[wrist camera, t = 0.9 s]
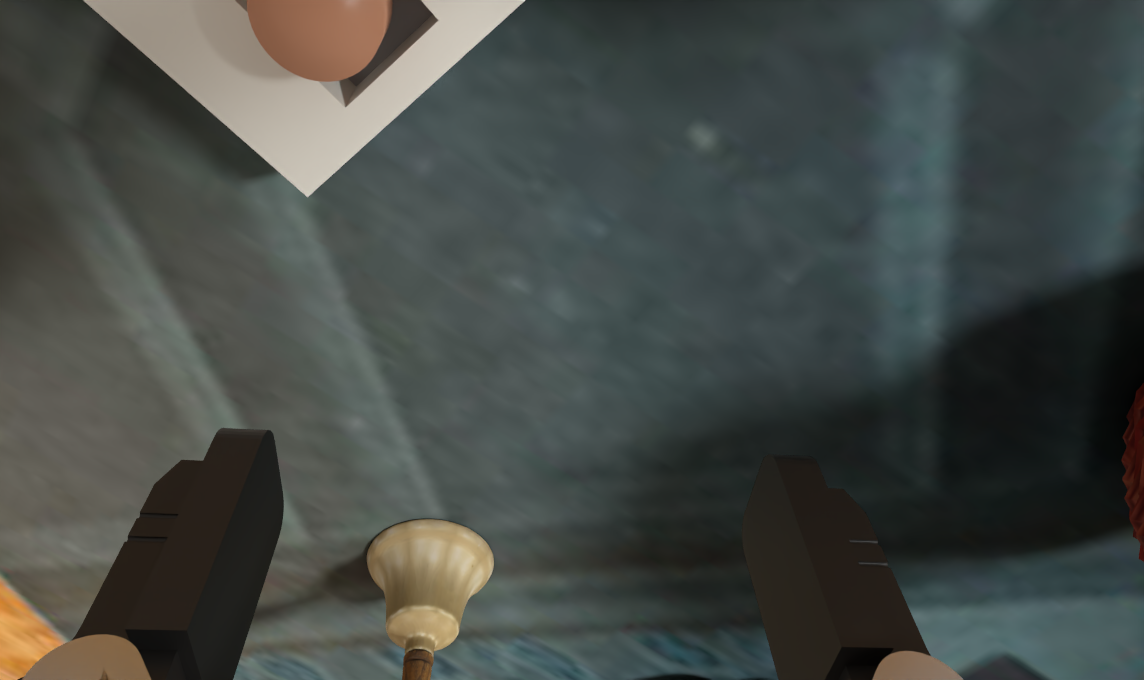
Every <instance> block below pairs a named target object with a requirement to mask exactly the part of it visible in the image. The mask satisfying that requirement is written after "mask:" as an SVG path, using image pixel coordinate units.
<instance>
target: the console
mask: <svg viewBox="0 0 1144 680" xmlns="http://www.w3.org/2000/svg"><path fill="white" fill-rule="evenodd" d="M83 1H84V2H86V3H87V4H88V5H89V6H90V7H91V8H92V9H94V10H95V11H96V12H97V13H98V14H99V15H100V16H102V17H103V18H104V19H105V20H106V21H107V22H108V23H110V24H111V25H112V26H113V27H114V28H115V29H116V30H118V31H119V32H120V33H121V34H122V35H123V36H124V37H126V38H127V39H128V40H129V41H130V42H131V43H132V44H133V45H135V46H136V47H137V48H138V49H139V50H140V51H141V52H143V53H144V54H145V55H146V56H147V57H148V58H149V59H151V60H152V61H153V62H154V63H155V64H156V65H157V66H159V67H160V68H161V69H162V70H163V71H164V72H165V73H167V74H168V75H169V76H170V77H171V78H172V79H173V80H175V81H176V82H177V83H178V84H179V85H180V86H181V87H183V88H184V89H185V90H186V91H187V92H188V93H189V94H191V95H192V96H193V97H194V98H195V99H196V100H197V101H199V102H200V103H201V104H202V105H203V106H204V107H205V108H207V109H208V110H209V111H210V112H211V113H212V114H213V115H214V116H216V117H217V118H218V119H219V120H220V121H221V122H222V123H224V124H225V125H226V126H227V127H228V128H229V129H230V130H232V131H233V132H234V133H235V134H236V135H237V136H238V137H240V138H241V139H242V140H243V141H244V142H245V143H246V144H248V145H249V146H250V147H251V148H252V149H253V150H254V151H256V152H257V153H258V154H259V155H260V156H261V157H262V158H264V159H265V160H266V161H267V162H268V163H269V164H270V165H272V166H273V167H274V168H275V169H276V170H277V171H278V172H280V173H281V174H282V175H283V176H284V177H285V178H286V179H287V180H289V181H290V182H291V183H292V184H293V185H294V186H295V187H297V188H298V189H299V190H300V191H301V192H302V193H303V194H305V195H306V196H307V197H308V196H309V195H310V194H312V193H313V192H314V191H315V190H316V189H317V188H318V187H319V186H320V185H322V184H323V183H324V182H325V181H326V180H327V179H328V178H329V177H330V176H331V175H333V174H334V173H335V172H336V171H337V170H338V169H339V168H340V167H341V166H343V165H344V164H345V163H346V162H347V161H348V160H349V159H350V158H351V157H353V156H354V155H355V154H356V153H357V152H358V151H359V150H360V149H361V148H362V147H364V146H365V145H366V144H367V143H368V142H369V141H370V140H371V139H372V138H374V137H375V136H376V135H377V134H378V133H379V132H380V131H381V130H382V129H383V128H385V127H386V126H387V125H388V124H389V123H390V122H391V121H392V120H393V119H395V118H396V117H397V116H398V115H399V114H400V113H401V112H402V111H403V110H405V109H406V108H407V107H408V106H409V105H410V104H411V103H412V102H413V101H414V100H416V99H417V98H418V97H419V96H420V95H421V94H422V93H423V92H424V91H426V90H427V89H428V88H429V87H430V86H431V85H432V84H433V83H434V82H435V81H437V80H438V79H439V78H440V77H441V76H442V75H443V74H444V73H445V72H447V71H448V70H449V69H450V68H451V67H452V66H453V65H454V64H455V63H457V62H458V61H459V60H460V59H461V58H462V57H463V56H464V55H465V54H466V53H468V52H469V51H470V50H471V49H472V48H473V47H474V46H475V45H476V44H478V43H479V42H480V41H481V40H482V39H483V38H484V37H485V36H486V35H487V34H489V33H490V32H491V31H492V30H493V29H494V28H495V27H496V26H497V25H499V24H500V23H501V22H502V21H503V20H504V19H505V18H506V17H507V16H508V15H510V14H511V13H512V12H513V11H514V10H515V9H516V8H517V7H518V6H520V5H521V4H522V3H523V2H524V1H525V0H392V2H393V5H392V16H391V21H390V24H389V27H388V29H387V31H386V34H385V36H384V38H383V40H382V42H381V44H380V46H379V48H378V50H377V52H376V54H375V55H374V57H373V58H372V60H371V61H370V62H369V63H368V65H367V66H366V67H365V68H363V69H362V70H361V71H360V72H358V73H357V74H355V75H353V76H351V77H349V78H346V79H343V80H339V81H332V82H320V81H313V80H309V79H305V78H302V77H300V76H297V75H295V74H293V73H291V72H290V71H288V70H286V69H285V68H283V67H282V66H280V65H279V64H278V63H277V62H276V61H275V60H273V59H272V58H271V57H270V55H269V54H268V53H267V52H266V51H265V50H264V48H263V47H262V46H261V44H260V43H259V41H258V39H257V38H256V36H255V34H254V31H253V29H252V27H251V23H250V20H249V16H248V11H247V0H83Z"/></svg>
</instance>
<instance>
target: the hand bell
mask: <svg viewBox="0 0 1144 680" xmlns="http://www.w3.org/2000/svg"><path fill="white" fill-rule="evenodd" d="M367 565H368V569H369V572H370V574H371V576H372V578H373V580H374V581H375V583H376V584H377V585H378V586H379V587H380V588H381V589H382V590H383V591H384V594H385V600H386V631H387V634H388V636H389V637H390V639H391V640H392V641H393V642H394V643H396V644H397V645H398V646H400V647H402V648H405V656H404V662H403V665H404V667H403V676H402V680H430V677H431V671H432V670H431V667H432V665H433V655H434V651H436V650H439V649H442V648H444V647H446V646H448V645H449V644H451V643H452V642H453V641H454V640H455V638H456V637H457V635H458V633H459V628H460V623H461V619H462V615H463V611H464V608H465V606H466V603H467V601H468V599H469V598H470V597H471V596H472V595H474V594H475V593H477V592H478V591H479V590H480V589H481V588H482V587H483V586H484V585H485V584H486V582H487V581H488V579H489V578H490V576H491V574H492V571H493V566H494V559H493V554H492V551H491V549H490V548H489V546H488V544H487V543H486V542H485V540H483V539H482V538H481V536H479V535H478V534H477V533H475V532H474V531H472V530H470V529H469V528H467V527H464V526H462V525H459V524H456V523H453V522H449V521H444V520H436V519H418V520H411V521H407V522H403V523H399V524H397V525H394V526H392V527H390V528H388V529H386V530H384V531H383V532H381V534H379V535H378V536H377V537H376V538H375V539H374V541H373V542H372V543H371V545H370V547H369V550H368V553H367Z"/></svg>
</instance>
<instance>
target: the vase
mask: <svg viewBox="0 0 1144 680" xmlns="http://www.w3.org/2000/svg"><path fill="white" fill-rule="evenodd" d="M1126 417H1127V419H1128V421H1129V423H1130V424H1129V426H1128V428H1127V430H1126V431H1125V433H1124V435H1123V439H1124V441H1125V443H1126V445H1127V448H1126V450H1125V452H1124V455H1123V457H1122V459H1121V461H1122V463H1123V465H1124V467H1125V469H1126V473H1125V475H1124V477H1123V478H1122V480H1123V482H1124V484H1125V486H1126V488H1127V490H1128V491H1127V493H1126V496H1125V500H1126V502H1127V504H1128V506H1129V508H1130V512H1129V517H1130V518H1129V520H1130V522H1131V524H1132V525H1133V527H1134V531H1133V537H1135V538H1136V539H1138V540H1139V542H1140V544H1141V545H1140V552H1139V559H1140V560H1142V561H1144V383H1143V385H1142V386H1141V387H1140V388H1139V389H1138V390H1137V391H1136V396H1135V400H1134V402H1133V404H1132V406H1131V408H1130V410H1129V412H1128V414H1127V416H1126Z"/></svg>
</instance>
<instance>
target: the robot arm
mask: <svg viewBox="0 0 1144 680" xmlns="http://www.w3.org/2000/svg"><path fill="white" fill-rule="evenodd" d="M283 508H284V500H283V491H282V484H281V478H280V472H279V465H278V459H277V453H276V446H275V440H274V436H273V433H272V432H271V431H270V430H253V429H231V428H221V429H220V430H218V432H217V433H216V435H215V437H214V439H213V441H212V443H211V445H210V447H209V450H208V452H207V454H206V456H205V458H204V460H203V461H194V460H181V461H180V462H179V463H178V464H176V465H175V466H174V467H173V468H172V469H171V470H170V471H169V472H168V473H166V474H165V475H164V476H163V477H162V478H161V479H160V480H159V481H158V482H156V483H155V484H154V486H153V488H152V490H151V492H150V494H149V496H148V498H147V500H146V502H145V504H144V506H143V508H142V509H141V511H140V517H139V518H137V519H136V521H135V523H134V525H133V527H132V529H131V531H130V533H129V535H128V540H127V542H124V544H123V546H122V548H121V550H120V552H119V554H118V556H117V558H116V560H115V562H114V564H113V566H112V567H111V569H110V571H109V573H108V575H107V577H106V579H105V581H104V583H103V585H102V587H101V589H100V591H99V593H98V595H97V596H96V598H95V600H94V602H93V604H92V606H91V608H90V610H89V612H88V614H87V616H86V618H85V620H84V622H83V624H82V625H81V627H80V629H79V631H78V632H77V634H76V636H75V637H74V638H73V639H72V641H70V642H67V643H65V644H63V645H61V646H59V647H57V648H55V649H54V650H52V651H51V652H49V653H48V654H46V655H45V656H44V657H42V658H41V659H40V660H39V661H38V662H37V663H35V665H34V666H33V667H32V668H31V669H30V670H29V671H28V672H27V674H26V675H25V676H24V677H22V678H20V679H18V680H233V678H234V675H235V672H236V669H237V665H238V662H239V659H240V656H241V653H242V650H243V647H244V644H245V641H246V637H247V634H248V631H249V628H250V625H251V622H252V619H253V616H254V613H255V609H256V606H257V603H258V600H259V597H260V594H261V591H262V588H263V585H264V582H265V578H266V575H267V572H268V569H269V566H270V563H271V560H272V557H273V554H274V550H275V547H276V544H277V541H278V538H279V535H280V531H281V526H282V520H283ZM742 544H743V550H744V555H745V558H746V562H747V566H748V569H749V573H750V577H751V580H752V584H753V588H754V591H755V595H756V598H757V602H758V606H759V609H760V613H761V617H762V620H763V624H764V628H765V631H766V635H767V639H768V642H769V646H770V650H771V653H772V657H773V661H774V664H775V668H776V672H777V675H778V679H779V680H963V679H962V678H961V677H960V676H959V675H958V674H957V673H956V672H955V671H954V670H952V669H951V668H950V667H949V666H947V665H946V664H944V663H943V662H941V661H940V660H938V659H935V658H933V657H931V656H930V654H929V652H928V650H927V648H926V646H925V644H924V641H923V639H922V637H921V635H920V633H919V630H918V628H917V626H916V624H915V621H914V619H913V617H912V615H911V613H910V610H909V608H908V606H907V604H906V601H905V599H904V597H903V595H902V593H901V590H900V588H899V586H898V584H897V581H896V579H895V577H894V575H893V573H892V570H891V568H888V565H887V564H888V561H887V559H886V557H885V555H884V553H883V550H882V548H881V546H878V539H877V537H876V535H875V533H874V530H873V528H872V526H871V524H870V521H869V519H868V517H867V515H866V513H865V512H864V511H863V510H862V509H861V507H860V506H859V505H858V504H857V503H856V502H855V501H854V500H853V499H852V498H851V497H850V496H849V495H848V494H847V492H846V491H845V490H844V489H834V488H828V487H827V485H826V483H825V480H824V478H823V475H822V473H821V470H820V468H819V466H818V464H817V462H816V460H815V459H814V458H813V457H811V456H794V455H771V454H768V455H766V456H765V457H764V459H763V461H762V463H761V466H760V469H759V472H758V475H757V478H756V481H755V484H754V487H753V490H752V493H751V496H750V499H749V502H748V505H747V507H746V510H745V513H744V517H743V524H742Z"/></svg>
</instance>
